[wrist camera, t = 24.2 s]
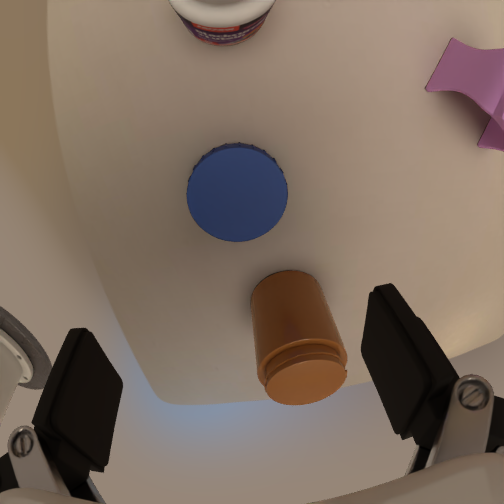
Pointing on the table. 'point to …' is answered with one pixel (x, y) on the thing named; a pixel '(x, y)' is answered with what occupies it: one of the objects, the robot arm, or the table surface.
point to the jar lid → (237, 192)
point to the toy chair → (475, 84)
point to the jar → (296, 339)
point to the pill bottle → (222, 19)
